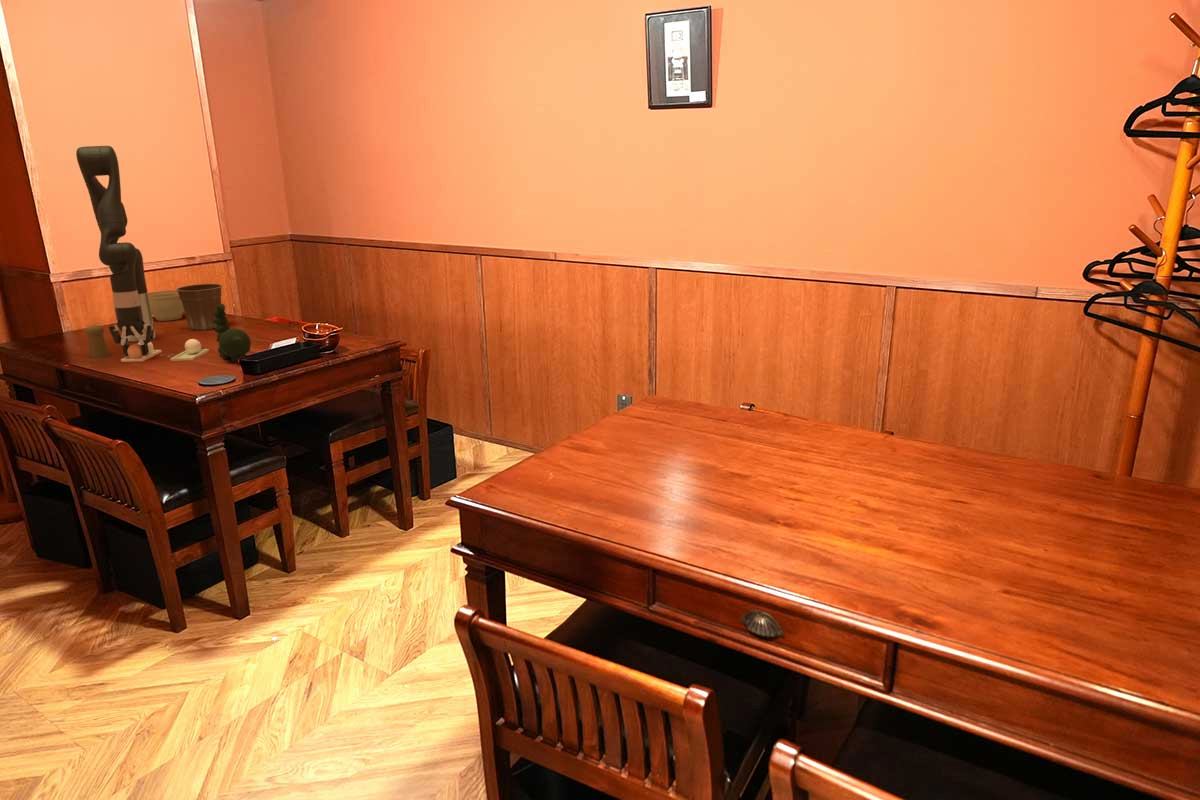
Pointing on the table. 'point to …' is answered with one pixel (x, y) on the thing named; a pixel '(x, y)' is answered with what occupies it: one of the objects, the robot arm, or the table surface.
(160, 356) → the card
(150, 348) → the ball
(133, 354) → the ball
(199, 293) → the plant pot
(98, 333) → the olive green waisted cylinder
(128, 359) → the egg tray
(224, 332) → the toy figurine
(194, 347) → the ball
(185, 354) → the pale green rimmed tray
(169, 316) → the planter bowl
